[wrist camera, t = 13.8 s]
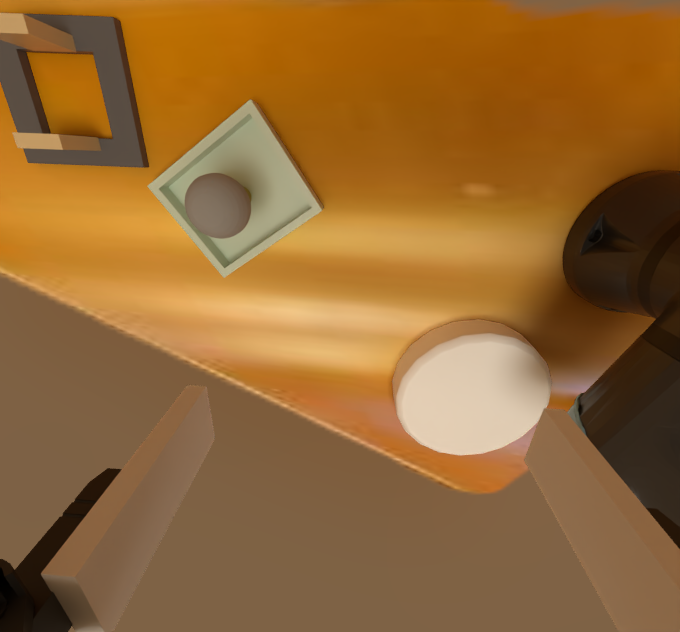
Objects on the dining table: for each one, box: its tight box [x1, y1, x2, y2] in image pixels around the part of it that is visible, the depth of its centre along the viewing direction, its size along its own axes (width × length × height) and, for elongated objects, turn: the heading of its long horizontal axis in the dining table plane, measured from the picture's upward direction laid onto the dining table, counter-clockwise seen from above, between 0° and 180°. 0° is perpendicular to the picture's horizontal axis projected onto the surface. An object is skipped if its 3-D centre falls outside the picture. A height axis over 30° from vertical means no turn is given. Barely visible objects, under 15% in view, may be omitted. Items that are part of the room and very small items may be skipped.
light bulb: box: [185, 173, 252, 239], centre depth 31 cm, size 5×6×10 cm
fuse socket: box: [0, 13, 149, 167], centre depth 30 cm, size 12×12×6 cm
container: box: [392, 319, 552, 455], centre depth 44 cm, size 20×20×5 cm
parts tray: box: [148, 99, 324, 277], centre depth 35 cm, size 14×12×2 cm
